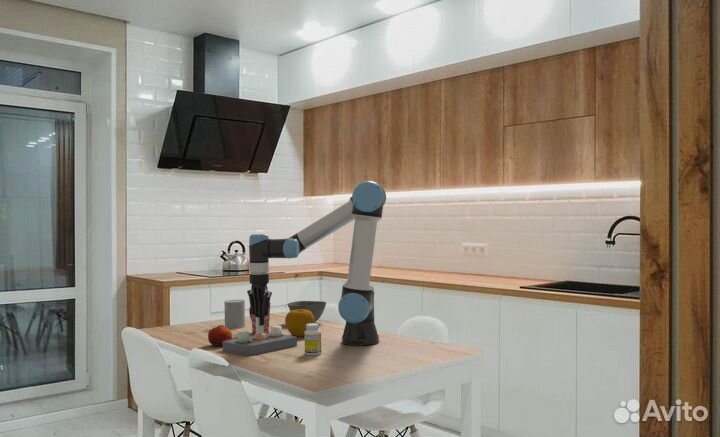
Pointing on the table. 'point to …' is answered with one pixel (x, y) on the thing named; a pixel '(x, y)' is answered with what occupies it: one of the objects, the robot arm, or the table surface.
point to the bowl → (309, 307)
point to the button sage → (243, 337)
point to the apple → (298, 321)
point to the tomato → (219, 335)
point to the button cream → (276, 331)
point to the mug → (266, 322)
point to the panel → (259, 345)
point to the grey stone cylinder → (234, 314)
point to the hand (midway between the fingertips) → (259, 333)
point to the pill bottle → (312, 339)
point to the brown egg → (260, 337)
